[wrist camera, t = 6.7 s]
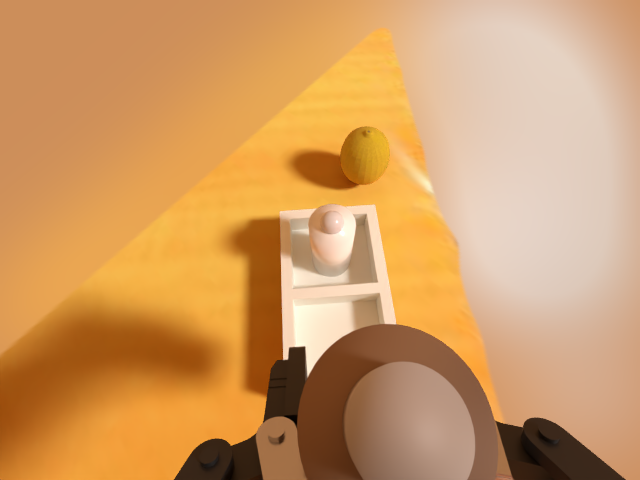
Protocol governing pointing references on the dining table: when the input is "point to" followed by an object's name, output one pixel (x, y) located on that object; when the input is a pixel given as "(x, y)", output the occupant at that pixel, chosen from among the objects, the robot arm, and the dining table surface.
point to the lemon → (364, 155)
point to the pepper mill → (394, 411)
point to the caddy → (331, 286)
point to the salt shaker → (331, 239)
